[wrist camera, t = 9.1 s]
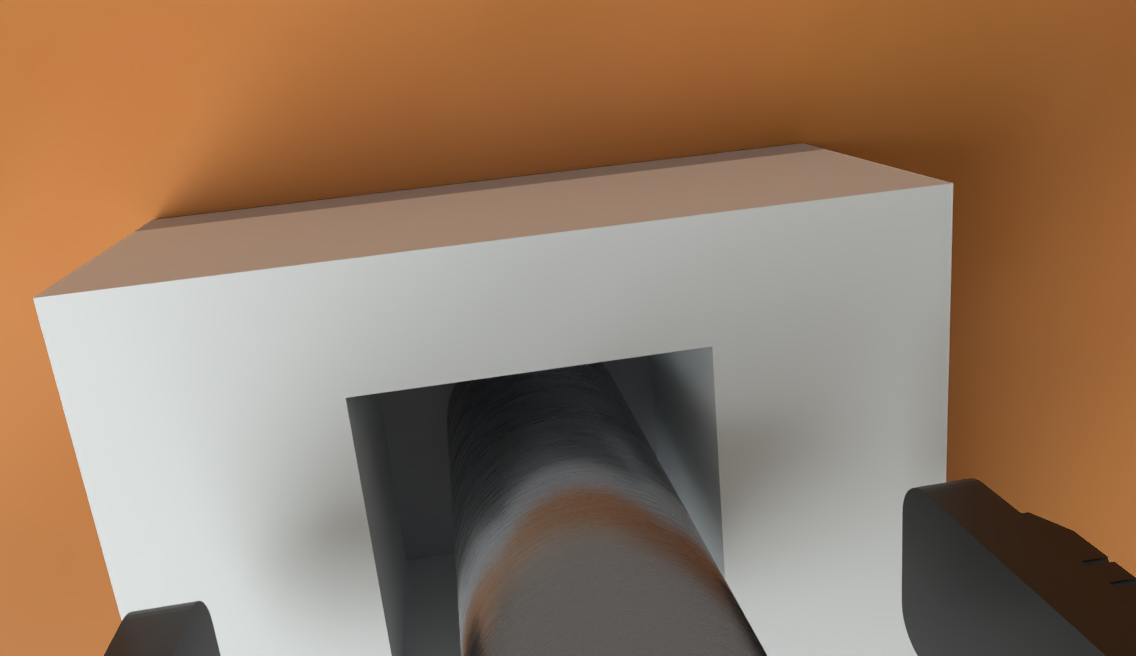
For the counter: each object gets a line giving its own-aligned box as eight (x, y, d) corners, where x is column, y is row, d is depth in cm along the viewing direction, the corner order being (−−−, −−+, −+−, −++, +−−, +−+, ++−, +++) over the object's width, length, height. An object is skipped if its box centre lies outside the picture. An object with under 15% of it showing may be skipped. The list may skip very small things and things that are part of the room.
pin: (614, 324, 16) (831, 649, 8) (626, 485, 17) (831, 937, 8) (436, 346, 16) (452, 712, 7) (457, 508, 17) (493, 1005, 8)
